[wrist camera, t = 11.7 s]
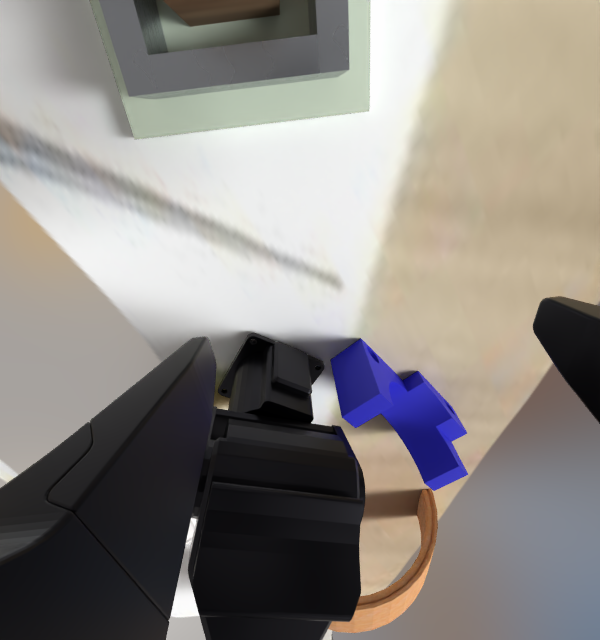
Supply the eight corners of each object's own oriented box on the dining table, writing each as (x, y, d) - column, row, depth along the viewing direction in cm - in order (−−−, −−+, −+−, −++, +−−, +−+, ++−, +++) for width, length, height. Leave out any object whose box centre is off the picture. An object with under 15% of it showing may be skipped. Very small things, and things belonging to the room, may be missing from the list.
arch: (424, 514, 40) (463, 622, 31) (259, 530, 40) (253, 642, 31) (430, 487, 37) (475, 598, 28) (251, 503, 37) (243, 620, 28)
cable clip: (451, 406, 30) (486, 465, 25) (409, 429, 31) (433, 490, 26) (376, 325, 25) (400, 380, 20) (330, 358, 26) (341, 417, 21)
